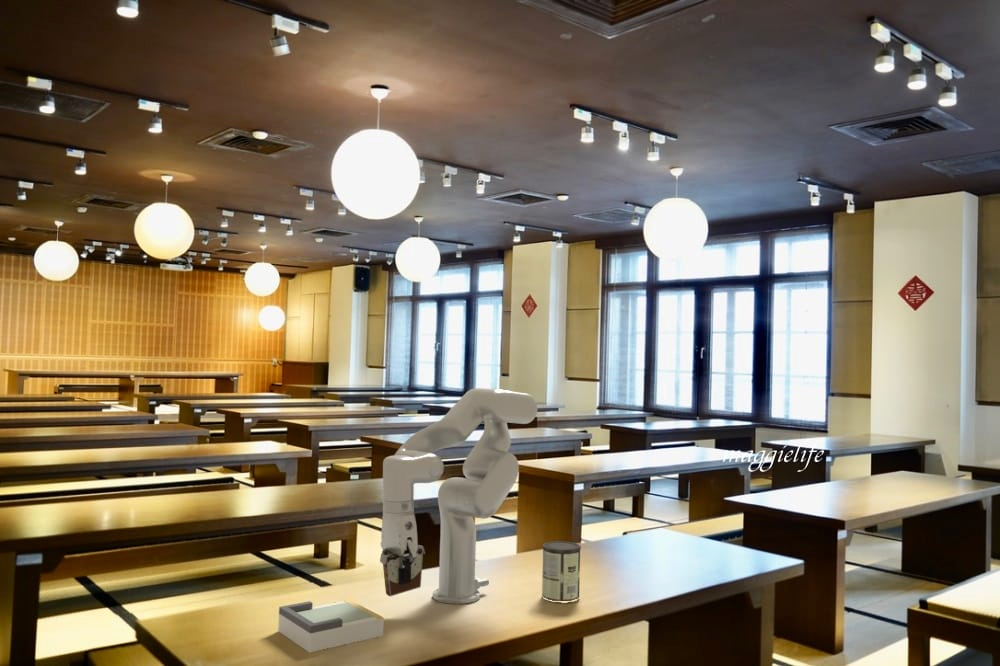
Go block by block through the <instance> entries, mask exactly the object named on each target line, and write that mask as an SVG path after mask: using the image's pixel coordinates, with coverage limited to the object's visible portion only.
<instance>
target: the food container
mask: <svg viewBox="0 0 1000 666" xmlns="http://www.w3.org/2000/svg"><path fill="white" fill-rule="evenodd" d="M404 554H407V552H406V551H405V552H404ZM416 554H417V558H416V559H415V560H414V562H413V563H412V566H411V582H410V583H406V584H402V585H400V584H399V568H401V567H400V561H399V555H396V554H394V553H391V552H388V551H387V550H386V549H384V550H383V549H382V551H381V553H380V556H379V557H380V558H379V563H381V564H382V568H383V569H382V570H383V579H384V587H385V594H386V596H388V597H393V596H397V595H400V594H403V593H406V592H410V591H413V590H416V589H419V588H421V587H422V572H423V559H424V558H423V557H424V555H425V554H426V552H425V548H424V546H423V545H420V544H418V550H417V553H416ZM403 558H404V561H405V559H406V558H407V556H405V557H403Z"/></svg>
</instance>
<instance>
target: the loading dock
mask: <svg viewBox="0 0 1000 666" xmlns="http://www.w3.org/2000/svg"><path fill="white" fill-rule="evenodd" d="M313 604H314V603H313V602H312V601H310V600H309V601H305V602H298V603H293V604H288V605H287V604H286V605H281V606H278V607H279V609H278V628H277V629H278V632H279V633H280V634H282V635H284V636H285V637H286V638H288V639H289V640H290V641H292V642H293V643H295V644H296V645H298V646H299V647H300V648H302V649H303V650H305V651H306V652H308V653H309V654H311V653H314V652H318V651H323V649H324V650H328V649H332V648H336V647H340V646H344V644H345V645H348V644H353V642H354V643H357V641H358V642H362V641H365V640H366V639H367V640H371V639H375V638H380V637H383V636H384V623H385V621H384V620H385V618H384V617H383V616H382V615H380V614H378V613H376V612H374V611H372V610H370V609H368V608H366V607H365V606H362V605H361V604H359V603H357V602H355V601H353V600H351V599H346V600H343V601H338V602H333V603H327V604H321V605H318V606H313ZM361 640H362V641H361ZM327 648H328V649H327Z"/></svg>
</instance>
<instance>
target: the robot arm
mask: <svg viewBox="0 0 1000 666" xmlns="http://www.w3.org/2000/svg"><path fill="white" fill-rule="evenodd" d="M537 414H538V403H537V400H536V399H535V397H534V396H532V394H529V393H526V392H525V393H524V392H523V393H522V392H519V391H518V392H517V391H511V390H504V389H497V388H483V387H482V388H481V387H480V388H479V387H478V388H476V387H475V388H472V389H469V390H468V391H467V392H465V394H463V395H462V396H461V398H459V400H458V401H457V402H455V404H454V405H453V406H452V407H451V408H450V410H448V412H447V413H446V414H445V415H444V416H443V417H442V418H441V419H440V420H438V421H435V422H434V423H432V424H430V425H428V426H426V427H424V428H422V429H420V430H419V431H417V432H415V433H414V434H413V435H411V436H410V437H408V438H407V439H406V440H405V442H404V443H402V445H401V446H400V447H399V448H398V450H397V451H396V452H395V453H394V454H393V455H389V456H387V457H385V458H384V459H383V462H382V520H381V533H380V534H381V537H380V539H381V540H380V548H381V549H382V551H383V550H384V549H386V550H387V551H388V552H391V553H394V554H396V555H399V561H400V567H401V568H399V584H400V585H402V584H406V583H410V582H411V566H412V563H413V562H414V560H415V559H416V558H417V554H416V553H417V550H418V545H419V544H418V530H417V529H418V527H417V520H416V515H415V512H414V510H415V509H414V508H415V507H414V505H415V504H414V500H415V498H414V495H415V494H414V493H415V492H414V491H415V489H414V485H415V484H430V483H434V482H436V481H438V480H439V479H440V478H441V476H442V475H443V473H444V468H445V465H444V462H443V460H442V459H441V457H440V456H439V455H437V454H435V453H434V452H436V451H439V450H442V449H443V450H444V449H447V448H452V447H455V446H458V445H460V444H463V443H464V442H466V440H467V439H468V438H469V437H470V436H471V434H473V432H474V431H475V430H476V429H477V428H478V427H479V425H480V424H481V423H482V422H483V421H484V430H483V433H482V435H480V436H481V437H480V438H479V440H478V441H477V442H476V444H475V445H474V446H473V448H472V450H471V451H470V452H469V454H468V456H466V459H465V460H464V462H463V465H462V473H463V475H464V476H465V477H460V476H459V477H458V476H455V477H450V478H447V479H445V480H444V481H443V482H442V483H441V485H440V486H439V488H438V490H437V491H438V492H437V503H438V508H439V515H440V539H439V541H440V542H439V572H438V573H439V575H438V588H435V589H434V590H433V592H432V598H433V599H434V600H436V601H437V602H440V603H444V604H452V605H453V604H454V605H455V604H456V605H460V604H461V605H462V604H470V602H471V603H474V602H476V600H477V601H478V600H479V599H480V598H481V592H480V591H479V590H478V589H480V588H481V587H482V588H483V587H487V586H489V584H490V583H489V579H488V578H486V577H485V578H482V579H479V578H478V577H476V555H477V554H476V549H477V548H476V547H477V546H476V545H477V529H476V524H475V520H474V518H475V519H476V518H477V519H482V520H483V519H488V518H491V517H493V516H494V515H495V514H496V512H497V511H498V510H499V508H500V507H501V505H502V504H503V502H504V501H505V499H506V498H507V496H508V495H509V494H510V491H511V490H512V488H513V487H514V484H516V481H517V479H518V475H519V468H520V467H519V461H518V459H517V457H516V456H515V455H514V454H513V453H511V452H510V451H509V449H510V447H511V444H512V442H511V441H512V439H511V435H510V431H509V427H508V423H511V424H521V425H522V424H523V425H527V424H529V423H531V422H533V420H535V418H536V417H537ZM405 551H406V552H407V554H404V552H405ZM405 556H407V558H406V559H405V561H404V558H403V557H405ZM475 577H476V578H475Z"/></svg>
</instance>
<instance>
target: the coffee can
mask: <svg viewBox="0 0 1000 666" xmlns="http://www.w3.org/2000/svg"><path fill="white" fill-rule="evenodd" d="M581 548H582V547H581V545H580V544H578V543H576V542H571V541H563V540H561V541H560V540H553V541H548V542H544V543H543V544H542V584H541V587H542V589H541V590H542V591H541V597H542V596H543V597H544V598H546V599H548V600H552V601H572V600H575V599H578V598H580V584H581V583H580V575H581V573H580V571H581Z"/></svg>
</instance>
